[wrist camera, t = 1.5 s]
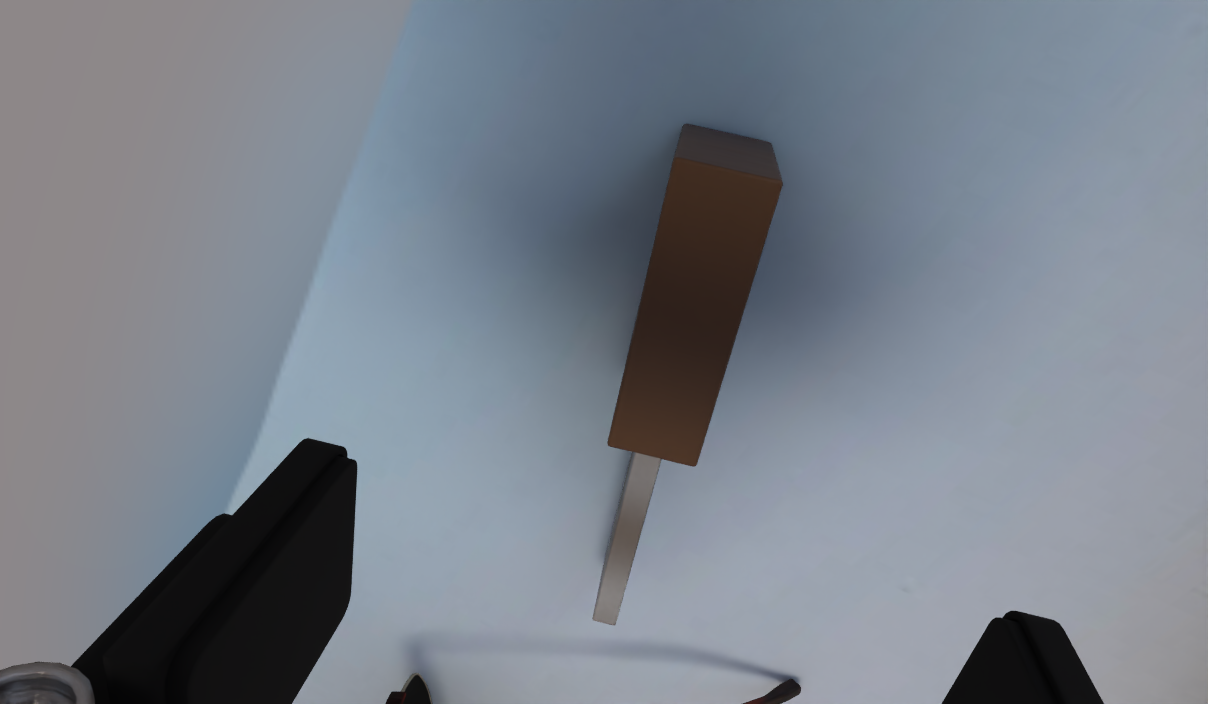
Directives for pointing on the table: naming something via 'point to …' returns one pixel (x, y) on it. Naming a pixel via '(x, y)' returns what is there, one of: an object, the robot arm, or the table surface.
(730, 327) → the knife
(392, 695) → the sunglasses
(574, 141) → the table surface
